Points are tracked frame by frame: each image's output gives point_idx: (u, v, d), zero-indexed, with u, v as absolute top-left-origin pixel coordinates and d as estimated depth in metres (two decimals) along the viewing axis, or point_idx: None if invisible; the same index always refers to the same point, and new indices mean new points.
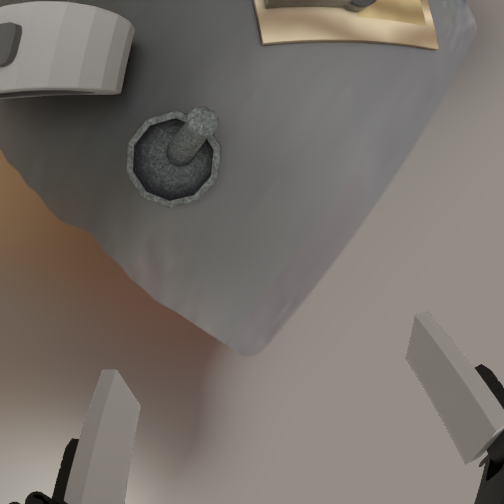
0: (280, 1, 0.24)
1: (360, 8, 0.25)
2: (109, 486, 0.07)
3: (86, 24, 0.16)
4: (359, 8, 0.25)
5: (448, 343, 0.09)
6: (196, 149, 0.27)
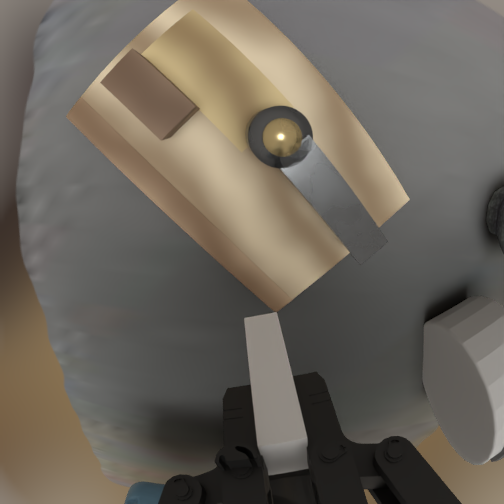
0: None
1: None
2: None
3: (501, 381, 0.18)
4: None
5: (277, 345, 0.11)
6: None
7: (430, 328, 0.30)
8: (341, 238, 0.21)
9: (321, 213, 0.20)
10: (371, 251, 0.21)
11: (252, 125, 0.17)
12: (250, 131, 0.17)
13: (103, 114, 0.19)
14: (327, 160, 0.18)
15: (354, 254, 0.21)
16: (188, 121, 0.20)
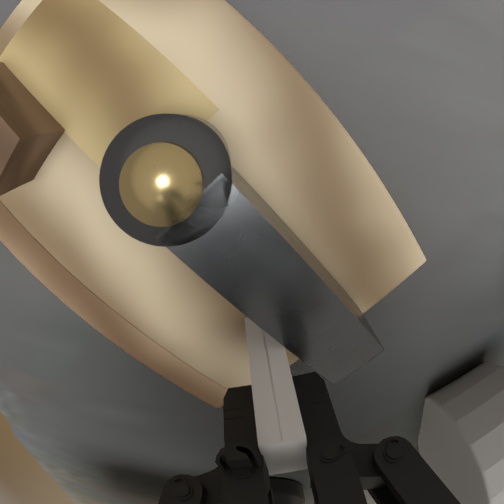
0: (360, 316, 0.13)
1: (212, 128, 0.09)
2: None
3: None
4: (214, 129, 0.10)
5: (276, 345, 0.11)
6: None
7: (433, 406, 0.21)
8: (299, 355, 0.12)
9: (258, 322, 0.11)
10: (353, 366, 0.12)
11: (103, 164, 0.08)
12: (101, 176, 0.08)
13: None
14: (267, 225, 0.09)
15: (323, 373, 0.12)
16: (52, 152, 0.11)
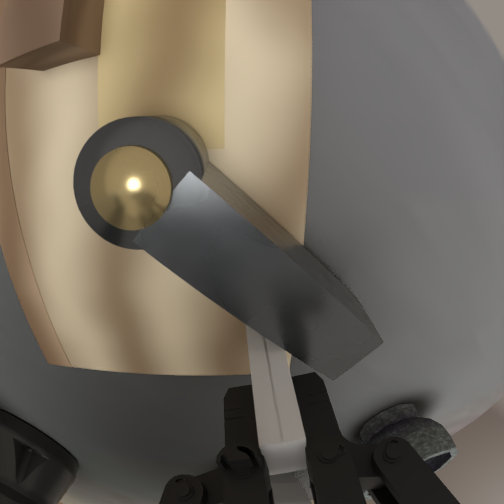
0: (356, 308, 0.12)
1: (183, 126, 0.09)
2: None
3: None
4: (185, 127, 0.09)
5: (276, 345, 0.11)
6: None
7: None
8: (292, 352, 0.11)
9: (245, 320, 0.10)
10: (352, 360, 0.12)
11: (76, 173, 0.08)
12: (75, 185, 0.08)
13: None
14: (242, 221, 0.09)
15: (320, 369, 0.12)
16: (74, 63, 0.09)
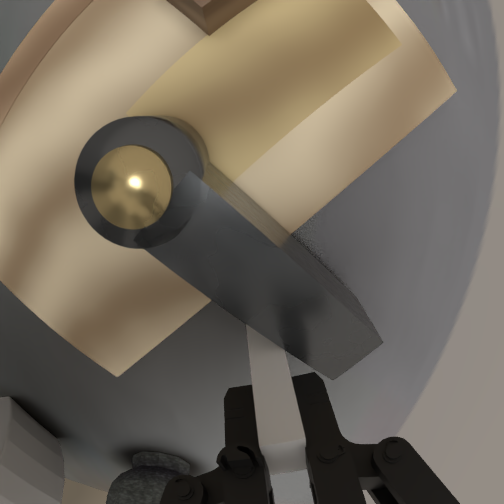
0: (356, 308, 0.12)
1: (183, 126, 0.09)
2: None
3: None
4: (185, 126, 0.09)
5: (275, 345, 0.11)
6: None
7: (6, 408, 0.18)
8: (292, 351, 0.11)
9: (245, 319, 0.10)
10: (352, 360, 0.12)
11: (77, 172, 0.08)
12: (76, 184, 0.08)
13: None
14: (242, 220, 0.09)
15: (320, 369, 0.12)
16: (186, 19, 0.09)
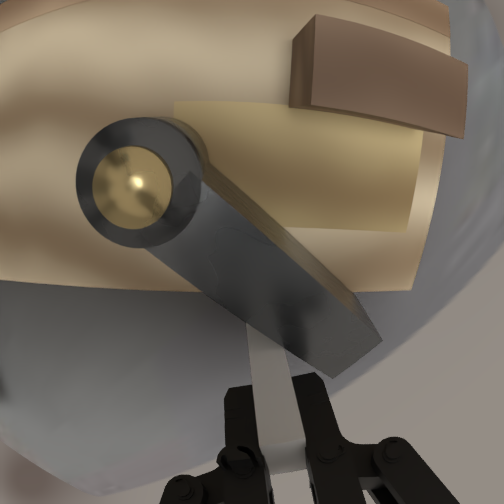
0: (355, 306, 0.12)
1: (183, 127, 0.09)
2: None
3: None
4: (185, 128, 0.09)
5: (275, 345, 0.11)
6: None
7: None
8: (292, 350, 0.11)
9: (245, 318, 0.10)
10: (351, 359, 0.12)
11: (78, 173, 0.08)
12: (77, 185, 0.08)
13: (407, 23, 0.09)
14: (241, 219, 0.09)
15: (320, 367, 0.12)
16: (288, 78, 0.10)
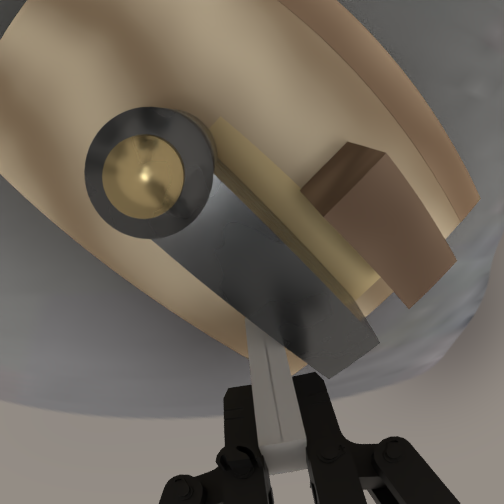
0: (354, 308, 0.12)
1: (196, 121, 0.09)
2: None
3: None
4: (197, 121, 0.09)
5: (276, 345, 0.11)
6: None
7: None
8: (291, 348, 0.11)
9: (247, 314, 0.10)
10: (349, 360, 0.12)
11: (88, 159, 0.08)
12: (86, 171, 0.08)
13: (439, 191, 0.13)
14: (250, 215, 0.09)
15: (317, 367, 0.12)
16: (318, 168, 0.12)
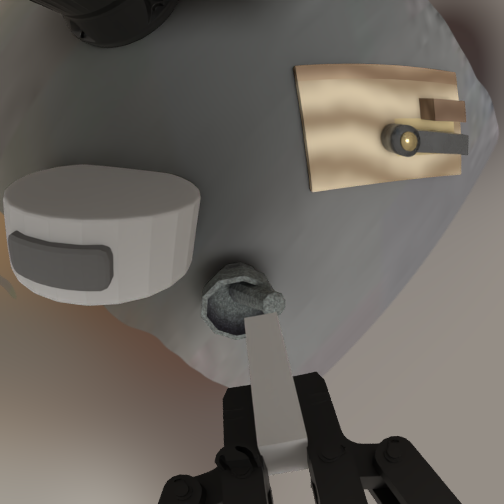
0: (455, 133, 0.32)
1: (399, 124, 0.32)
2: None
3: (172, 232, 0.25)
4: None
5: (277, 345, 0.11)
6: None
7: (177, 177, 0.35)
8: (454, 153, 0.32)
9: (441, 152, 0.32)
10: (466, 145, 0.32)
11: (396, 147, 0.31)
12: (397, 150, 0.32)
13: (444, 85, 0.31)
14: (427, 132, 0.31)
15: (462, 153, 0.32)
16: (419, 110, 0.33)
